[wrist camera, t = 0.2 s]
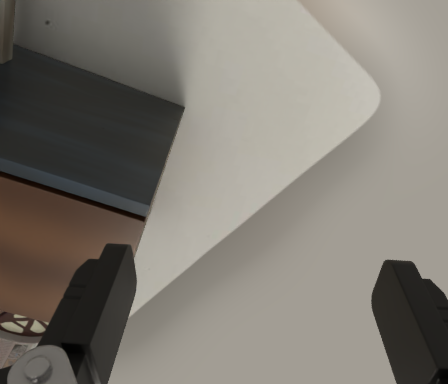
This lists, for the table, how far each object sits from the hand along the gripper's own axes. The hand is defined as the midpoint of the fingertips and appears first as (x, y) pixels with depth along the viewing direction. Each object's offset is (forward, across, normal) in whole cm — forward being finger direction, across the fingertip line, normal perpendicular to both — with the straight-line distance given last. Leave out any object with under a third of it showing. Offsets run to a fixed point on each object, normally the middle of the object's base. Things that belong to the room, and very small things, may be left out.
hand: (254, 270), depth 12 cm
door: (+26, +13, 0) cm, 29 cm away
